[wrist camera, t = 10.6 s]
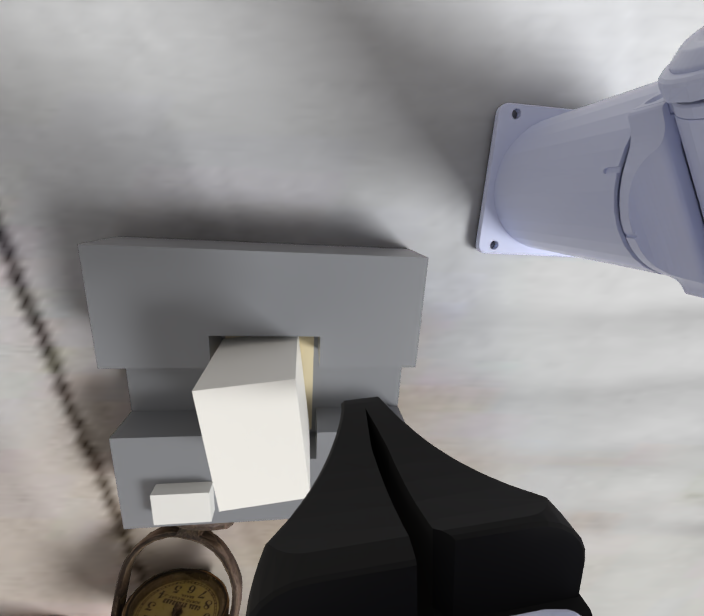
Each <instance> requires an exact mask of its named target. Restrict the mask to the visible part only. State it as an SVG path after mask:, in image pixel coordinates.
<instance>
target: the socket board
mask: <svg viewBox="0 0 704 616" xmlns="http://www.w3.org/2000/svg"><path fill="white" fill-rule="evenodd" d="M77 245H78V251H79V257H80V263H81V269H82V275H83V281H84V288H85V294H86V300H87V306H88V312H89V318H90V325H91V331H92V337H93V343H94V349H95V355H96V361H97V368H98V369H117V368H126V373H127V381H128V388H129V395H130V403H131V410H132V412H131V413H130V414H129V415H128V416H127V418H126V419H125V420H124V421H123V423H122V424H121V425H120V426H119V427H118V429H117V430H116V431H115V432H114V433H113V435H112V436H111V437H110V438H109V441H110V448H111V454H112V460H113V466H114V472H115V478H116V484H117V491H118V497H119V503H120V509H121V515H122V521H123V528H124V529H132V528H148V527H164V526H181V525H197V524H213V523H229V522H245V521H262V520H278V519H289V518H290V517H291V516H292V514H293V513H294V512H295V510H296V509H297V508H298V506H299V505H300V504H301V502H302V501H303V499H298V500H292V501H285V502H279V503H272V504H266V505H259V506H253V507H246V508H240V509H233V510H226V511H220V512H219V508H218V504H217V500H216V495H215V491H214V486H213V482H212V478H211V473H210V469H209V464H208V460H207V456H206V451H205V447H204V443H203V438H202V434H201V429H200V425H199V421H198V416H197V412H196V407H195V403H194V399H193V394H192V390H193V388H194V387H195V385H196V383H197V382H198V380H199V378H200V377H201V375H202V373H203V372H204V370H205V368H206V367H207V365H208V363H209V362H210V360H211V358H212V357H213V355H214V353H215V352H216V350H217V348H218V347H219V345H220V343H221V342H222V340H223V339H226V338H235V337H245V336H299V342H300V351H301V359H302V367H303V376H304V384H305V393H306V401H307V409H308V418H309V439H310V489H311V487H312V486H313V484H314V482H315V481H316V479H317V477H318V476H319V474H320V472H321V470H322V468H323V466H324V464H325V462H326V460H327V457H328V455H329V453H330V450H331V447H332V445H333V442H334V440H335V437H336V433H337V430H338V426H339V422H340V417H341V403H342V402H343V401H345V400H354V399H362V398H370V397H379V398H380V399H382V401H383V402H384V403H385V404H386V405H387V406H388V407H389V408H390V409H391V410H392V411H393V412H394V413H395V414H396V415H397V416H398V417H399V418H400V419H401V420H402V421H403V422H404V420H403V417H402V415H401V413H400V411H399V408H398V397H399V387H400V378H401V368H402V367H416V359H417V351H418V342H419V334H420V325H421V317H422V308H423V300H424V291H425V283H426V274H427V266H428V257H425V256H423V255H421V254H419V253H417V252H415V251H412V250H410V249H400V248H376V247H352V246H329V245H305V244H282V243H258V242H235V241H211V240H188V239H164V238H141V237H113V238H107V239H102V240H97V241H91V242H86V243H81V244H77Z"/></svg>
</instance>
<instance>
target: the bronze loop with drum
mask: <svg viewBox="0 0 704 616" xmlns="http://www.w3.org/2000/svg"><path fill="white" fill-rule="evenodd" d="M233 523H234V522H229V523H213V524H197V525H181V526H164V527H160V528H158V529H156V530H155V531H153V532H151V533H149V534H148V535H147V536H146V537H145V538H144V539H143V540H141V541H140V542H139V543H138V544H137V545H136V546H135V547H134V549H133V550H132V551H131V553H130V554H129V555H128V557H127V558H126V559H125V561H124V564H123V566H122V569H121V571H120V573H119V577H118V581H117V585H116V590H115V596H114V601H113V606H112V612H111V616H239V611H240V605H241V599H242V576H241V573H240V570H239V567H238V564H237V562H236V560H235V558H234V556H233V555H232V553H231V551H230V550H229V548H228V547H227V546H226V544H225V543H224V542H223V540H221V539H220V538H219V537H218V536H217V535H215V534H214V533H213V532H211V530H220V529H227V528H229V527H230V526H232V525H233ZM167 537H179V538H183V539H188V540H192V541H195V542H198V543H200V544H203V545H204V546H206V547H207V548H208V549H210V550H211V551H213V552H214V553H215V555H216V556H217V557H218V558H219V559H220V561H221V562H222V564H223V566H224V568H225V570H226V572H227V574H228V576H229V579H230V583H231V587H232V605H231V610H230V614H228V612H229V595H228V592H227V589H226V586H225V585H224V583H223V582H222V581H221V580H220V579H219V578H218V577H216V576H215V575H213V574H212V573H211V572H207V571H203V570H197V569H175V570H171V571H168V572H165V573H162V574H159V575H156V576H153V577H152V578H150V579H149V580H147V581H146V582H144V583H143V584H142V585H141V586H140V587H139V588H137V589H136V590H135V592H134V593H133V594H132V595H131V596H130V597H129V598H128V600H127V602H126V597H127V590H128V585H129V580H130V575H131V570H132V567H133V563H134V560H135V558H136V556H137V555H138V554H139V553H140V552H141V550H142V549H143V548H144V547H145V546H147V545H148V544H150V543H152V542H154V541H157V540H160V539H164V538H167Z"/></svg>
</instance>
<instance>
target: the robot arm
mask: <svg viewBox="0 0 704 616" xmlns="http://www.w3.org/2000/svg"><path fill="white" fill-rule="evenodd" d="M513 110H514V111H516V113H517V117H516V119H514V118H513V117H512V112H513ZM492 241H494V242H495V246H494V247H493V248H492V249H491V248H490V244H491V242H492ZM476 249H477V250H478V251H479V252H482V253H492V254H516V255H540V256H563V257H580V258H585V259H590V260H595V261H600V262H604V263H609V264H614V265H619V266H624V267H629V268H634V269H639V270H644V271H648V272H653V273H658V274H664V275H667V276H670V277H672V278H674V279H676V280H677V281H678V282H679V283H680V284H681V285H682V287H683V289H684V291H685V293H686V294H690V295H694V296H698V297H702V298H704V26H703V27H702V28H700V29H699V30H697V31H696V32H695V33H694V34H692V35H691V36H690V37H689V38H688V39H687V40H686V41H685V42H684V43H683V44H682V45H681V46H680V48H679V49H678V51H677V53H676V54H675V56H674V57H673V59H672V61H671V62H670V64H669V65H668V66H667V67H666V68H665V69H664V70H663V72H662V73H661V75H660V76H659V78H658V81H657V82H654V83H651V84H648V85H645V86H642V87H639V88H636V89H633V90H630V91H627V92H624V93H622V94H619V95H616V96H613V97H610V98H607V99H604V100H601V101H598V102H595V103H592V104H589V105H586V106H584V107H581V108H578V109H565V108H555V107H546V106H536V105H527V104H517V103H505V104H503V105H501V106H500V107H499V108H498V109H497V111H496V116H495V122H494V129H493V135H492V142H491V148H490V155H489V161H488V167H487V174H486V180H485V187H484V193H483V200H482V206H481V213H480V219H479V226H478V232H477V239H476ZM584 562H585V548H584V545H583V542H582V539H581V537H580V536H579V535H578V534H577V532H576V531H575V530H574V529H573V528H572V526H571V525H570V524H569V522H568V521H567V520H566V519H565V518H564V516H563V515H562V514H561V513H560V512H559V511H558V509H557V508H556V507H555V506H554V505H553V504H552V503H551V502H550V501H549V500H548V499H547V498H546V497H543V496H540V495H537V494H535V493H532V492H529V491H526V490H523V489H520V488H517V487H514V486H511V485H508V484H506V483H503V482H501V481H498V480H496V479H494V478H491V477H489V476H487V475H484V474H482V473H480V472H478V471H476V470H474V469H472V468H470V467H468V466H466V465H464V464H462V463H461V462H459V461H457V460H455V459H453V458H452V457H450V456H448V455H447V454H445V453H444V452H442V451H441V450H439V449H437V448H436V447H434V446H433V445H432V444H430V443H429V442H427V441H426V440H425V439H423V438H422V437H421V436H420V435H418V434H417V433H416V432H415V431H414V430H412V429H411V428H410V427H409V426H408V425H407V424H406V423H405V422H403V421H402V420H401V419H400V418H399V417H398V416H397V415H396V414H395V413H394V412H393V411H392V410H391V409H390V408H389V407H388V406H387V405H386V404H385V403H384V402H383V401H382V399H380V398H379V397H370V398H362V399H354V400H345V401H343V402H342V403H341V417H340V422H339V426H338V430H337V433H336V437H335V440H334V442H333V445H332V447H331V450H330V453H329V455H328V457H327V460H326V462H325V464H324V466H323V468H322V470H321V472H320V474H319V476H318V477H317V479H316V481H315V482H314V484H313V486H312V487H311V489H310V491H309V492H308V494H307V495H306V497H305V498H304V499H303V501H302V502H301V504H300V505H299V506H298V508H297V509H296V510H295V512H294V513H293V514H292V516H291V517H290V518H289V519H288V521H287V522H286V523H285V524H284V525H283V526H282V527H281V528H280V530H279V531H278V532H277V533H276V534H275V535H274V536H273V537H272V538H271V539H270V540H269V542H268V543H267V544H266V545H265V547H264V550H263V552H262V555H261V558H260V560H259V563H258V566H257V569H256V572H255V576H254V579H253V583H252V587H251V591H250V595H249V599H248V605H247V612H246V616H592V613H591V610H590V608H589V607H588V606H587V604H586V603H585V601H584V600H583V598H582V597H581V596H580V594H579V590H580V584H581V579H582V573H583V568H584Z"/></svg>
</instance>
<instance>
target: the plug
mask: <svg viewBox="0 0 704 616" xmlns="http://www.w3.org/2000/svg"><path fill="white" fill-rule="evenodd" d="M192 394H193V399H194V403H195V407H196V412H197V416H198V421H199V425H200V429H201V434H202V438H203V443H204V447H205V451H206V456H207V460H208V464H209V469H210V473H211V478H212V482H213V486H214V491H215V495H216V500H217V504H218V508H219V512H220V511H226V510H233V509H240V508H246V507H253V506H259V505H266V504H272V503H279V502H285V501H292V500H298V499H304V498H305V497H306V495H307V494H308V492H309V491H310V439H309V418H308V409H307V401H306V393H305V384H304V376H303V367H302V359H301V351H300V342H299V336H245V337H235V338H226V339H223V340H222V342H221V343H220V345H219V347H218V348H217V350H216V352H215V353H214V355H213V357H212V358H211V360H210V362H209V363H208V365H207V367H206V368H205V370H204V372H203V373H202V375H201V377H200V378H199V380H198V382H197V383H196V385H195V387H194V388H193V390H192Z"/></svg>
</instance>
